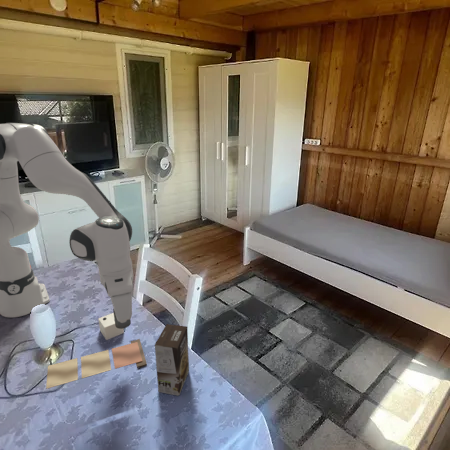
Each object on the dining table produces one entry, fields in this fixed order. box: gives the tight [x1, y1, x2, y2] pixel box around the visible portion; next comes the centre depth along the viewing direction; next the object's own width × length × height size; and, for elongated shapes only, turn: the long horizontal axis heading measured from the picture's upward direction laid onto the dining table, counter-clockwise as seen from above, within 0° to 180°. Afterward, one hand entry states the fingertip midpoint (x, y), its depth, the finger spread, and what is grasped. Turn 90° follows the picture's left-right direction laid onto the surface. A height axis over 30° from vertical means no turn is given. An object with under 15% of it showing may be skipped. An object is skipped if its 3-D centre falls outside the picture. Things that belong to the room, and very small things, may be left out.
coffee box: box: [154, 323, 190, 397], centre depth 90 cm, size 9×6×16 cm
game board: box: [45, 338, 148, 390], centre depth 98 cm, size 12×28×1 cm, turn 114°
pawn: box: [112, 307, 132, 329], centre depth 96 cm, size 4×4×8 cm
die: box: [98, 312, 125, 341], centre depth 110 cm, size 6×6×6 cm
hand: (122, 315), depth 96 cm, fingers closed on pawn, 4 cm apart
